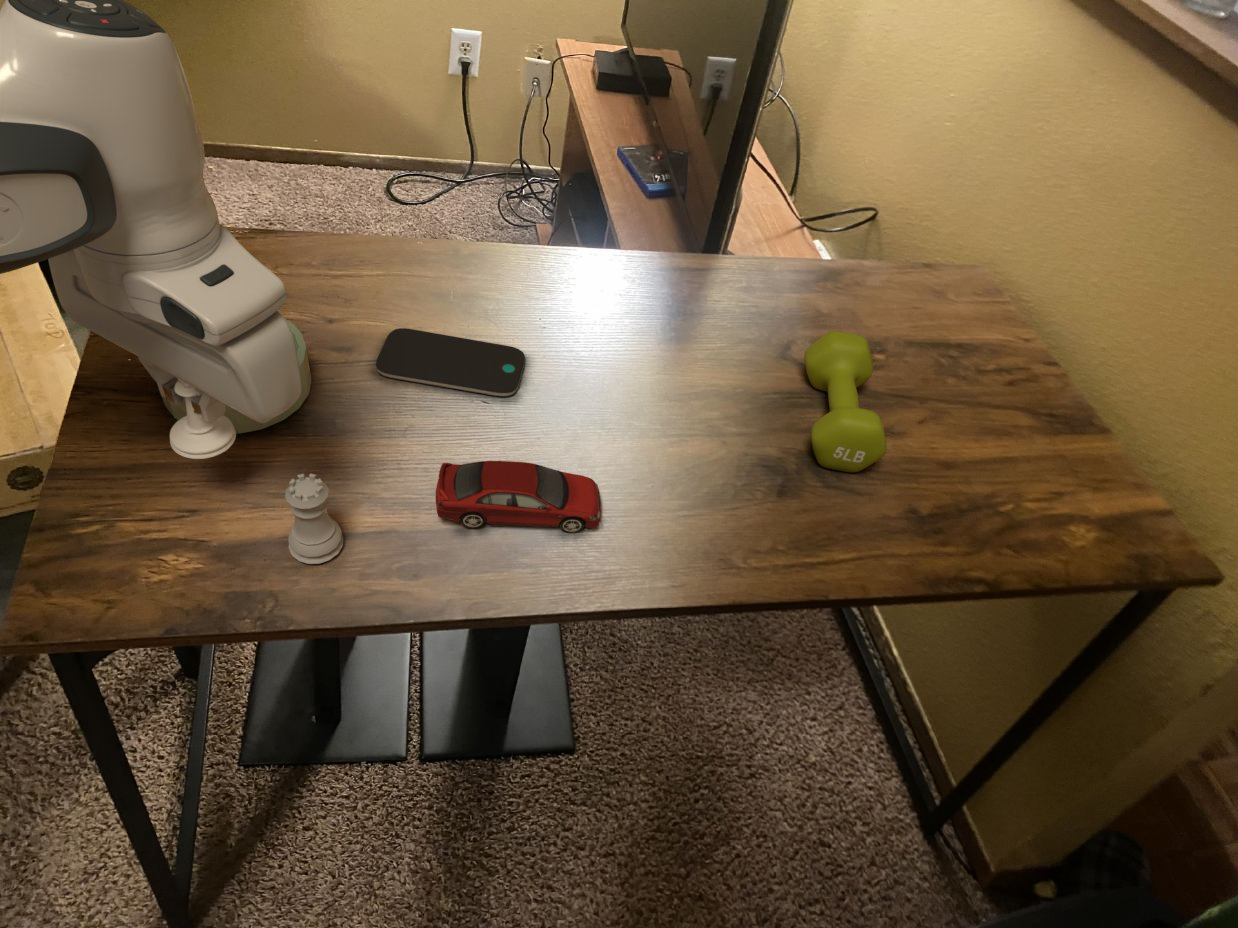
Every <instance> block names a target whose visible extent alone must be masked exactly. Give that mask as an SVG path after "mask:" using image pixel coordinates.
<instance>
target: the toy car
mask: <svg viewBox="0 0 1238 928" xmlns="http://www.w3.org/2000/svg"><path fill="white" fill-rule="evenodd" d="M435 506H436V513H437V516H438V518H439V519H444V520H445V519H446V520H450V521H455V522H459V521H460V523H461V525H462V526H463V527H465V528H468V529H478V528H481V527H483V526H484V525H485V522H486V524H487V525H488V524H489V525H507V526H508V525H509V526H510V525H511V526H531V527H550V528H553V527H554V528H559V527H560V529H561V531H563V532H564V533H568V534H575V533H578V532H581V531H582V530H583V529H584V527H585V529H597V528H599V525H600V522H601V519H602V518H601V517H602V499H601V492H600V489H599V486H598V483H596V482H595V480H594V479H593V478H591V477H589V476H585V475H581V474H575V473H571V472H566V471H561V470H557V469H554V468H550V467H547V466H543V465H540V464H537V463H532V462H525V461H513V460H512V461H511V460H482V461H480V460H479V461H474V462H468V463H463V464H462V463H461V464H459V463H458V464H457V463H450V462H442V464H441V466H440V469H439V472H438V479H437V482H436V487H435Z"/></svg>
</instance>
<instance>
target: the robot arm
mask: <svg viewBox="0 0 1238 928" xmlns="http://www.w3.org/2000/svg"><path fill="white" fill-rule="evenodd" d="M205 162H206V152H205V145H204V140H203V135H202V132H201V127H200V123H199V118H198V114H197V110H196V106H195V103H194V99H193V95H192V92H191V87H190V84H189V81H188V78H187V75H186V72H185V69H184V67H183V64H182V61H181V58H180V56H179V53H178V51H177V48H176V46H175V44H174V42H173V41H172V39H171V37H170V35H169V34H168V33H167V32H166V30H165V29H164V28H163V27H162V26H160V24H158V23H157V22H156V21H155V20H154V19H153V18H151V16H149V15H148V14H146V13H145V12H143V10H141V9H139V8H138V7H136V6H135V5H132V4H131V3H129V2H128V1H125V0H4V2H3V4H2V6H1V8H0V275H3V274H5V273H11V272H13V271H17V270H20V269H23V268H26V267H29V266H32V265H35V264H38V263H41V262H43V261H46V260H48V266H49V271H50V274H51V278H52V281H53V286H54V289H55V292H56V295H57V299H58V301H59V304H60V306H61V307H62V310H63V311H64V312H65V313H66V315H67V316H68V317H69V318H70V319H71V321H73V322H74V323H75V324H77V325H79V326H81V327H83V328H85V329H86V330H89V331H90V332H92V333H94V334H96V335H98V336H100V337H101V338H103V339H105V340H107V341H108V342H109V343H113V344H114V345H116V346H117V347H120V348H121V349H123V350H125V351H127V352H129V353H131V354H132V355H134V356H136V357H137V358H138V361H139V362H140V363H141V365H142V366H143V367H144V369H145V370H146V372H147V373H148V374H149V375H150V376H151V378H152V379H153V380H154V381H155V382H156V384H157V387H158V391H159V393H160V396H161V398H162V397H164V398H166V399H168V400H170V401H172V402H174V403H176V404H180V403H182V402H183V400H184V399H185V397H183V396H180V395H178V394H177V393H176V392H175V390H174V388H175V384H176V382H177V381H178V379H180V380H182V381H184V382H186V383H187V384H189V385H191V386H193V387H195V389H196V391H197V392H198V393H200V394H201V393H202V395H201V396H197V397H195V398H194V399H192V400H191V404H192V407H193V408H194V414H195V415H197V416H199V417H200V418H202V419H204V420H205V421H207V422H209V423H212V422H214V421H215V420H217V419H218V418H220V417H221V416H223V415H224V413H225V411H226V408H225V404H226V405H228V406H230V407H231V408H233V409H235V410H237V411H239V412H241V413H242V414H244V415H246V416H248V417H250V418H251V419H253V420H255V421H257V422H259V423H267V422H269V421H271V420H272V419H274V418H276V417H277V416H279V415H280V414H282V413H283V412H285V411H286V410H287V409H288V408H289V407H291V406H292V405H293V404H294V403H295V402H296V401H297V400H298V398H299V397H300V394H301V377H300V370H299V363H298V358H297V352H296V347H295V343H294V338H293V335H292V332H291V330H290V327H289V325H288V323H287V322H286V320H287V319H286V318H285V317H284V316H283V314H282V313H281V312H280V311H279V310H280V309H281V308H282V307H284V306H285V305H286V304H287V301H288V295H287V289H286V286H285V284H284V282H283V280H281V278H280V277H278V275H276V274H275V273H274V272H273V271H272V270H270V269H269V268H268V267H267V266H265V265H264V264H263V263H262V262H260V261H259V260H258V259H257V258H256V257H255V256H254V255H252V254H251V253H250V251H248V250H247V249H246V248H245V247H244V246H243V245H242V244H241V243H240V241H238V240H237V239H236V238H235V236H234V235H233V234H232V233H231V232H230V231H229V229H228V228H226V227H225V226H223V224H222V225H221V224H220V221H219V220H220V219H219V214H218V209H217V207H216V204H215V201H214V198H213V197H212V195H211V193H210V192H209V190H208V188H207V186H206V182H205V179H204V169H205V164H206V163H205ZM285 319H286V320H285ZM177 378H178V379H177Z"/></svg>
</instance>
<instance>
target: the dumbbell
mask: <svg viewBox="0 0 1238 928" xmlns="http://www.w3.org/2000/svg"><path fill="white" fill-rule="evenodd" d="M803 356H804V365H805V370H806V374H807V377H808V381H809V383H810V384H811V386H812V387H813V389H816V390H819V391H823V392H827V397H828V398H827V400H828V405H829V412H828V413H826V414H825V415H822V417H820V418H819V419H818V420H816V421H815V422H814V424H813V425H812V427H811V428H810V441H811V446H812V450H813V453H814V456H815V460H816V461H817V464H818V465H820V466H821V467H823V468H825V469H829V470H833V471H839V472H846V473H857V472H860V471H863V470H865V469H867V468H868V467H870V466H871V465H873V464H874V463H875V464H876V462H878V461H879V460H881V459H882V458H883V457H884V456H885V455H886V453H887V452H888V451H887V450H888V445H887V439H886V433H885V428H884V425H883V422H882V419H881V417H880V415H879V414H877V413H876V412H875V411H873V410H870V409H866V408H861V407H860V403H859V402H860V401H859V394H858V390H857V388H858V387H860V386H862V385H863V384H865V383H866V382H867V381H868V380H869V379H871V377H872V376H873V373H874V363H873V357H872V352H871V348H870V345H869V342H868V339H867V338H866V337H865V336H863V335H861V334H857V333H851V332H848V331H847V332H846V331H841V330H832V331H829V332H827V333H824V334H823V335H822V336H821V337H819V338H818V339H817V340H815V341H814V342H813V343H812V344H810V345H809V346H808V347H807V348H806V350H805V351H804V354H803Z"/></svg>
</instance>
